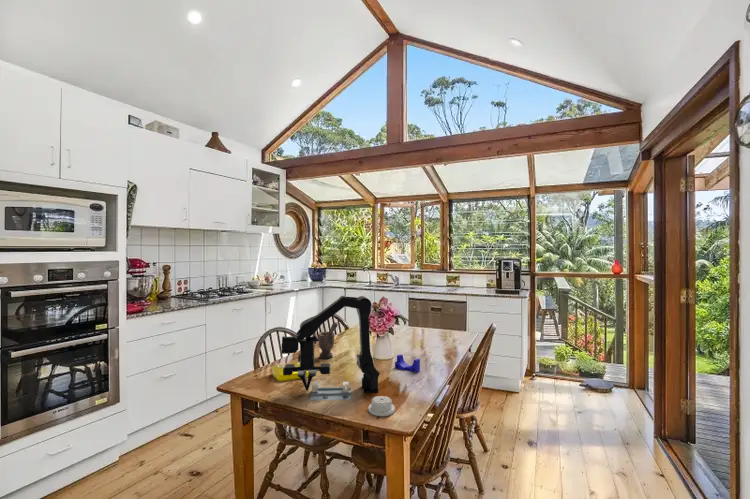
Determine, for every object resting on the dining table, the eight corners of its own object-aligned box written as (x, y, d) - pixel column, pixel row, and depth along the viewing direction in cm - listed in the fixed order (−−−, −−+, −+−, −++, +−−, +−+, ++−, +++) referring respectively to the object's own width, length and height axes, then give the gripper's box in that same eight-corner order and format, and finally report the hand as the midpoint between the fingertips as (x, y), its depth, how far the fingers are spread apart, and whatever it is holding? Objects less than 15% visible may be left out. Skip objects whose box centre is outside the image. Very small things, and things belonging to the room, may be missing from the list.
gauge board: (350, 390, 161) (350, 379, 161) (350, 401, 149) (350, 390, 149) (312, 390, 160) (312, 380, 160) (309, 402, 148) (309, 391, 148)
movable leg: (318, 390, 157) (318, 382, 157) (317, 398, 149) (317, 389, 149) (312, 390, 157) (312, 382, 157) (310, 398, 149) (310, 389, 149)
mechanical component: (400, 410, 142) (379, 403, 149) (400, 398, 142) (379, 391, 149) (383, 419, 135) (362, 411, 141) (383, 407, 135) (362, 400, 141)
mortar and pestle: (341, 356, 209) (341, 320, 208) (336, 360, 200) (336, 323, 200) (321, 354, 212) (322, 318, 211) (315, 359, 203) (316, 322, 203)
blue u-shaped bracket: (394, 368, 190) (394, 356, 190) (400, 365, 193) (400, 354, 193) (414, 373, 182) (414, 361, 182) (419, 371, 185) (419, 359, 185)
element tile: (278, 385, 167) (278, 374, 167) (271, 374, 180) (271, 364, 180) (311, 380, 173) (311, 369, 173) (302, 370, 187) (302, 360, 187)
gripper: (330, 346, 163) (330, 382, 164) (287, 347, 162) (287, 383, 162) (329, 353, 152) (329, 392, 153) (282, 354, 151) (282, 393, 151)
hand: (307, 389), depth 155 cm, fingers closed
